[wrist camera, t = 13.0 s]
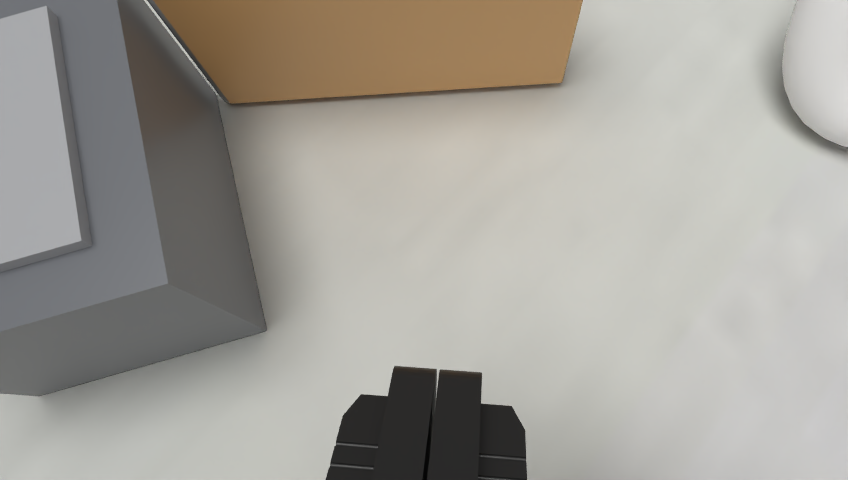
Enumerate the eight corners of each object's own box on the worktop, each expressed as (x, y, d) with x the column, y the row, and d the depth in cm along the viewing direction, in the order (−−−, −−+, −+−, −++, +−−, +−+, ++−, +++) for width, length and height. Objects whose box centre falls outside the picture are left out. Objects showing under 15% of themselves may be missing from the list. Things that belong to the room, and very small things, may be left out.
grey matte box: (38, 396, 30) (-212, 376, 19) (8, 152, 33) (-222, 16, 22) (266, 330, 30) (147, 273, 19) (215, 93, 33) (88, -72, 22)
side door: (562, 82, 31) (606, -95, 21) (220, 104, 32) (96, -56, 22) (558, 42, 32) (599, -150, 21) (222, 64, 33) (101, -110, 22)
